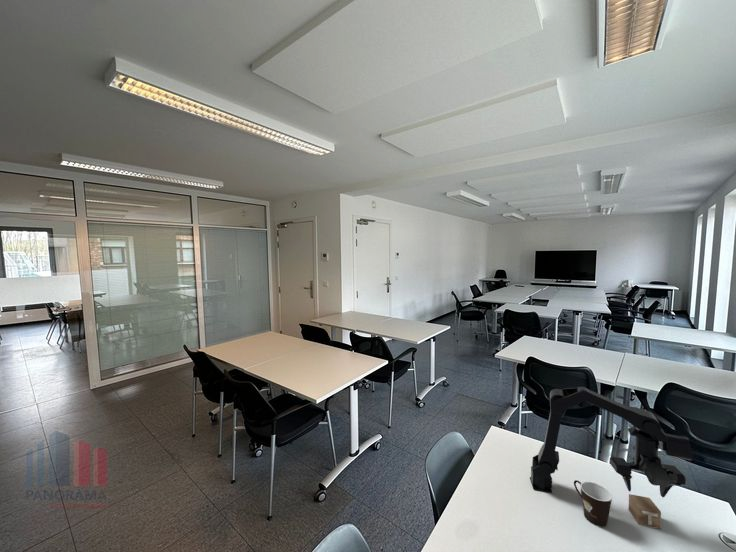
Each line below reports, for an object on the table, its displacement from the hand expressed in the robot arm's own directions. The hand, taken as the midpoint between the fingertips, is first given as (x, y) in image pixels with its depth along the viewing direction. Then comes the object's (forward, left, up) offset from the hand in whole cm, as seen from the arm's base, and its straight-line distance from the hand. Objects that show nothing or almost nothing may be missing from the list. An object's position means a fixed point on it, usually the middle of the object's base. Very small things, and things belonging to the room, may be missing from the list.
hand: (645, 493), depth 100 cm
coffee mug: (-16, -3, -10) cm, 19 cm away
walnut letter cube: (0, 0, -9) cm, 9 cm away
